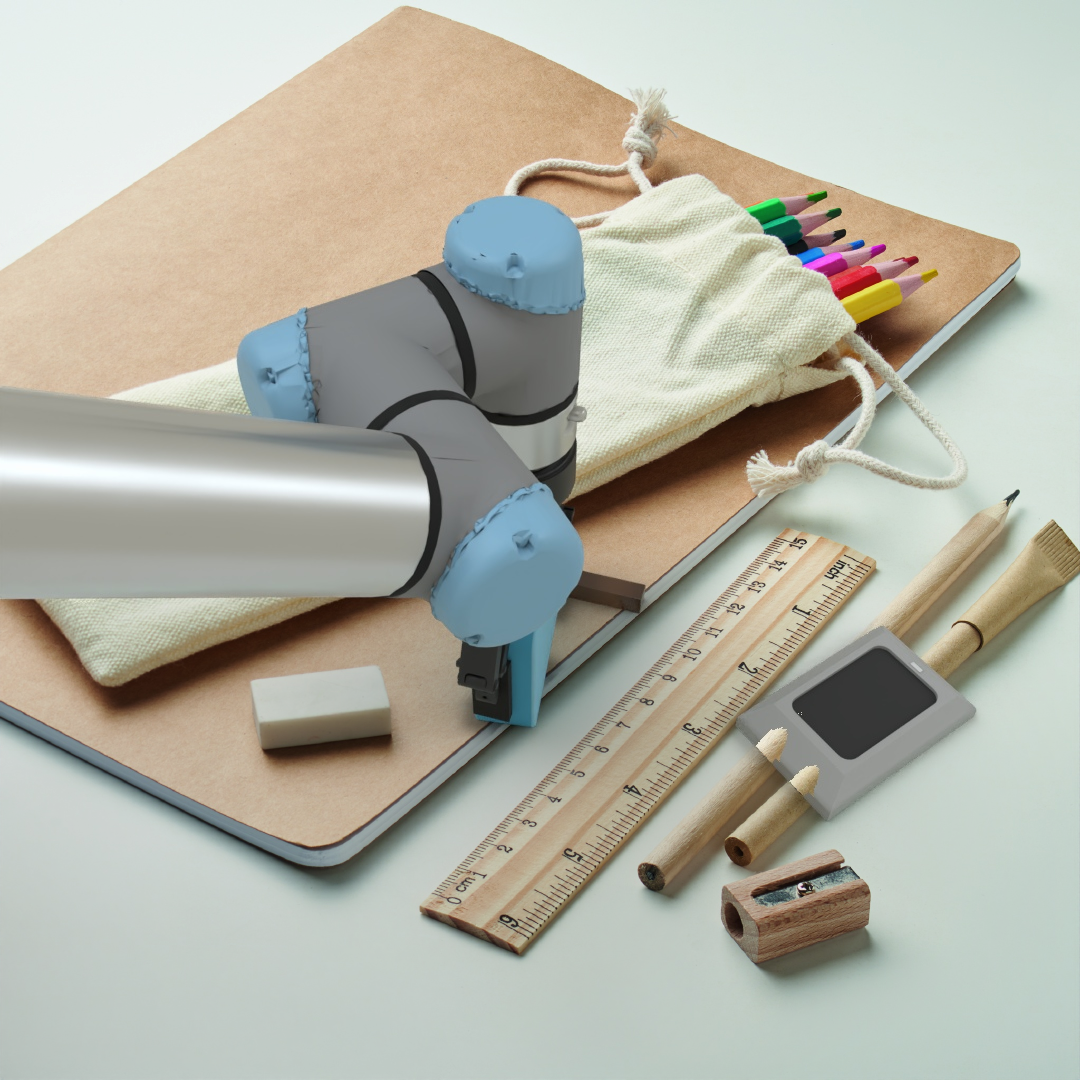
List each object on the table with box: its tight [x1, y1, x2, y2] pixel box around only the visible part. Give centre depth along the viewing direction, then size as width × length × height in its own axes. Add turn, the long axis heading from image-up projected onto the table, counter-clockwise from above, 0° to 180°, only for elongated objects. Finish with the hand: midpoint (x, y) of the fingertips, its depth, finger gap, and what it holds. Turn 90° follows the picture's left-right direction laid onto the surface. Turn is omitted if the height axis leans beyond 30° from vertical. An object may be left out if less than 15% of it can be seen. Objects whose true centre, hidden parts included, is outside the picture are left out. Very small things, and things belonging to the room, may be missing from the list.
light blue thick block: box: [474, 611, 559, 728], centre depth 89 cm, size 12×4×12 cm, turn 171°
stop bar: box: [568, 570, 646, 614], centre depth 97 cm, size 10×2×3 cm, turn 74°
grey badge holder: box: [734, 624, 977, 822], centre depth 89 cm, size 10×4×15 cm
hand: (519, 644), depth 91 cm, fingers closed on light blue thick block, 12 cm apart
